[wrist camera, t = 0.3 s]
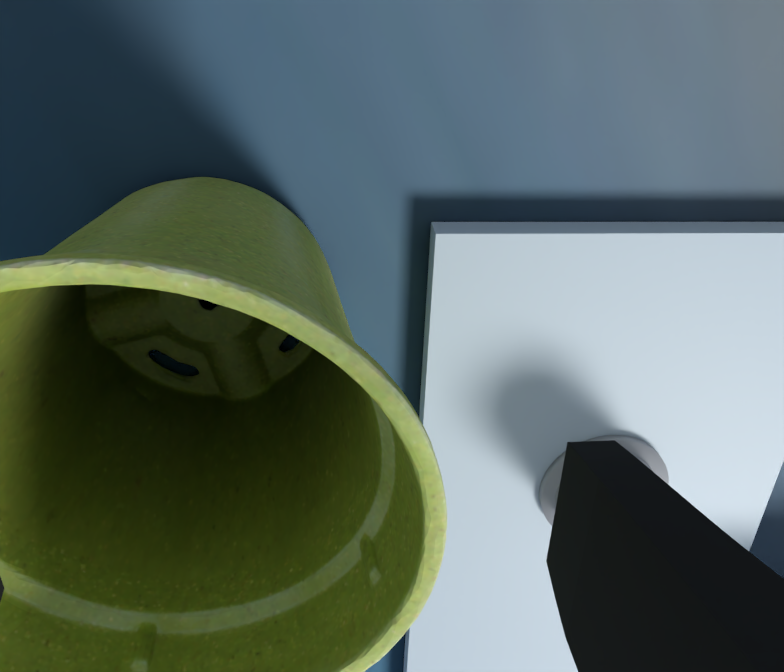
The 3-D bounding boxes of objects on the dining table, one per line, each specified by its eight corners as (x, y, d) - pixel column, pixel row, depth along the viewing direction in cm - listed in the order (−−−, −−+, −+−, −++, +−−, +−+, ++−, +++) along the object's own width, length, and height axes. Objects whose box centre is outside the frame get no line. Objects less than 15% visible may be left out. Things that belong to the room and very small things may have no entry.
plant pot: (299, 484, 22) (288, 782, 14) (-33, 366, 19) (-270, 663, 11) (463, 219, 18) (569, 431, 10) (82, 21, 15) (-155, 115, 7)
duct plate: (688, 668, 28) (753, 799, 23) (402, 685, 27) (418, 826, 22) (849, 221, 19) (999, 304, 15) (431, 222, 18) (465, 312, 14)
